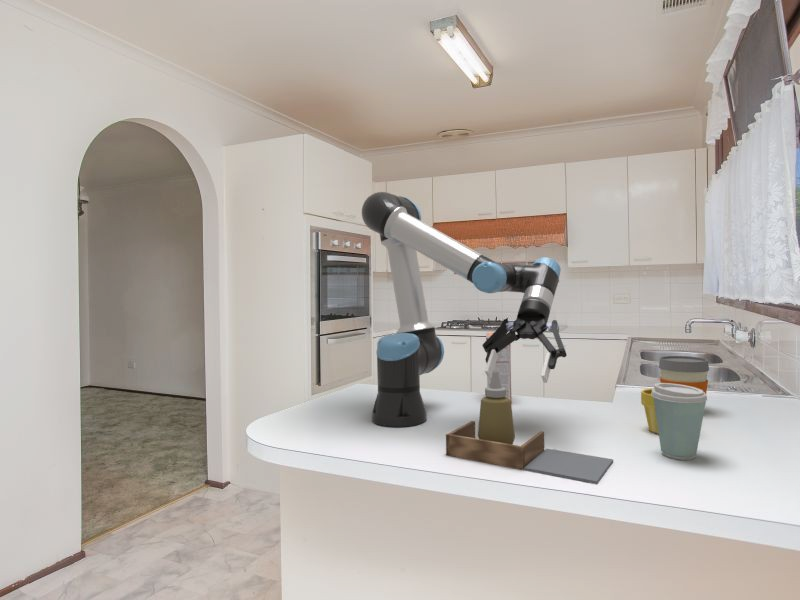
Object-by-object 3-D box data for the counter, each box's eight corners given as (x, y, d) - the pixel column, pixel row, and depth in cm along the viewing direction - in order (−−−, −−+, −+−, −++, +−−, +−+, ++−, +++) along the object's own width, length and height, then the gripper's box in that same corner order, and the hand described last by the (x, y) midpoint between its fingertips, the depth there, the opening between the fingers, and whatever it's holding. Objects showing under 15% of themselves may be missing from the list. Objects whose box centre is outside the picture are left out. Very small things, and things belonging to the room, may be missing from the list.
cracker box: (486, 395, 173) (485, 332, 172) (504, 395, 173) (503, 332, 172) (492, 405, 159) (491, 337, 158) (512, 405, 159) (511, 336, 158)
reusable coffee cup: (688, 419, 139) (688, 363, 139) (648, 409, 151) (648, 357, 150) (719, 413, 144) (719, 360, 144) (678, 404, 156) (678, 354, 155)
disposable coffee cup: (695, 448, 116) (695, 381, 115) (716, 465, 105) (717, 391, 104) (644, 446, 117) (644, 380, 117) (660, 463, 107) (660, 390, 106)
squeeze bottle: (515, 459, 110) (514, 375, 110) (477, 457, 112) (475, 374, 111) (514, 447, 118) (513, 369, 118) (478, 446, 120) (477, 368, 119)
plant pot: (683, 427, 132) (683, 389, 132) (692, 439, 122) (692, 397, 122) (639, 424, 135) (638, 387, 135) (643, 435, 126) (643, 395, 125)
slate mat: (524, 470, 104) (524, 467, 104) (546, 450, 116) (546, 448, 116) (596, 484, 96) (596, 481, 96) (613, 461, 108) (613, 459, 108)
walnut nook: (446, 454, 114) (445, 434, 114) (472, 439, 125) (472, 420, 125) (523, 469, 104) (523, 447, 104) (544, 451, 115) (544, 431, 115)
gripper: (588, 318, 128) (573, 391, 116) (493, 316, 141) (471, 381, 130) (582, 297, 123) (566, 371, 111) (485, 298, 137) (461, 363, 125)
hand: (515, 377), depth 120 cm, fingers open, 13 cm apart
